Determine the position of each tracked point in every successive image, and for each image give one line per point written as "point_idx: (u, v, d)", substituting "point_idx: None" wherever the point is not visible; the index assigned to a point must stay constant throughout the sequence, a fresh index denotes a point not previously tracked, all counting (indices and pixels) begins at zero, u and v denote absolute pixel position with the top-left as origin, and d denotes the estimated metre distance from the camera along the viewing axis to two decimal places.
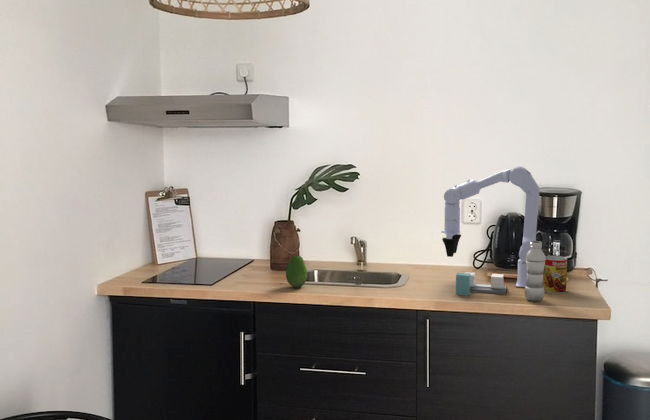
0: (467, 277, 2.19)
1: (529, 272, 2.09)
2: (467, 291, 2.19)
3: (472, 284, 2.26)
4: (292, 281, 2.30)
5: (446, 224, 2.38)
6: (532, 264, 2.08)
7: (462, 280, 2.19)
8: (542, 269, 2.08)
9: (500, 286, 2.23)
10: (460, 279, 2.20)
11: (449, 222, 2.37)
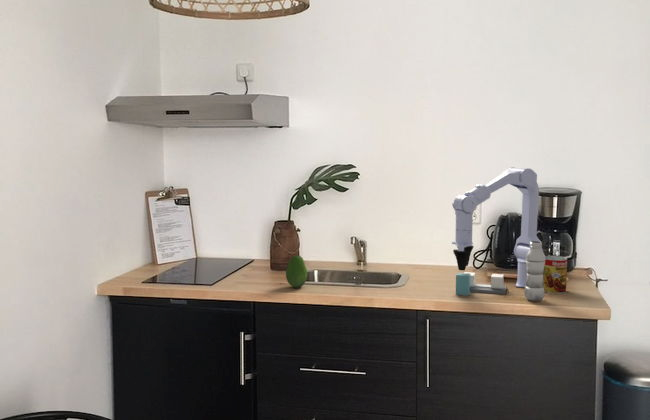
0: (467, 277, 2.19)
1: (529, 272, 2.09)
2: (467, 291, 2.19)
3: (472, 284, 2.26)
4: (292, 281, 2.30)
5: (457, 235, 2.18)
6: (532, 264, 2.08)
7: (462, 280, 2.19)
8: (542, 269, 2.08)
9: (500, 286, 2.23)
10: (460, 279, 2.20)
11: (461, 233, 2.17)
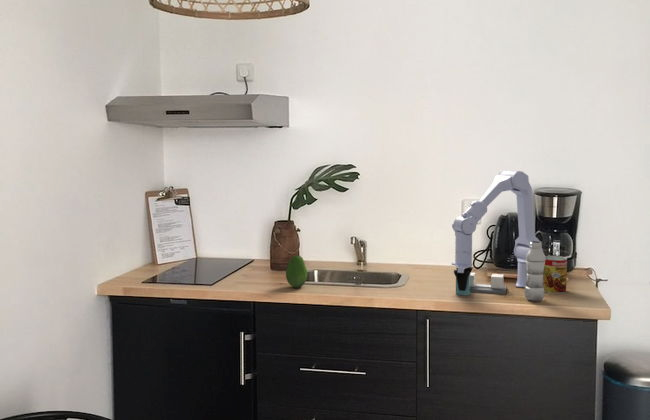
0: None
1: (529, 272, 2.09)
2: (467, 291, 2.19)
3: (472, 284, 2.26)
4: (292, 281, 2.30)
5: (457, 256, 2.19)
6: (532, 264, 2.08)
7: None
8: (542, 269, 2.08)
9: (500, 286, 2.23)
10: None
11: (460, 254, 2.18)
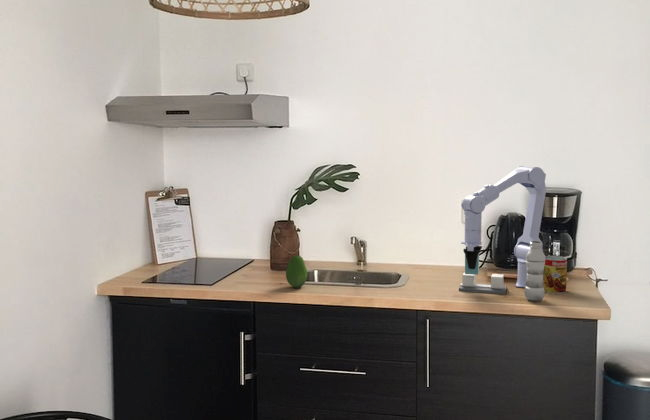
0: None
1: (529, 272, 2.09)
2: (476, 270, 2.21)
3: (472, 284, 2.26)
4: (292, 281, 2.30)
5: (467, 235, 2.20)
6: (532, 264, 2.08)
7: None
8: (542, 269, 2.08)
9: (500, 286, 2.23)
10: None
11: (470, 233, 2.19)
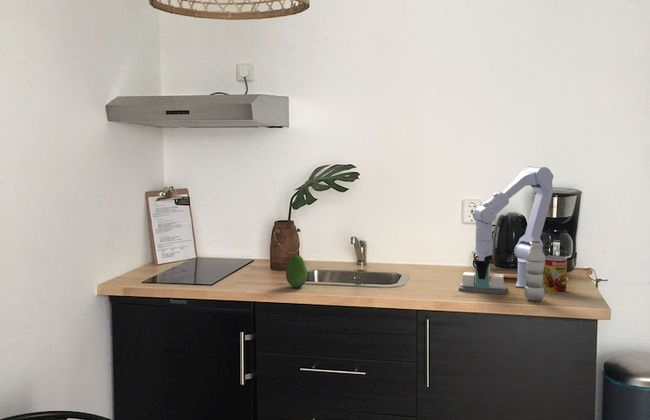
0: (487, 269, 2.24)
1: (529, 272, 2.09)
2: (487, 283, 2.25)
3: (472, 284, 2.26)
4: (292, 281, 2.30)
5: (477, 245, 2.24)
6: (532, 264, 2.08)
7: None
8: (542, 269, 2.08)
9: (500, 286, 2.23)
10: None
11: (481, 242, 2.23)
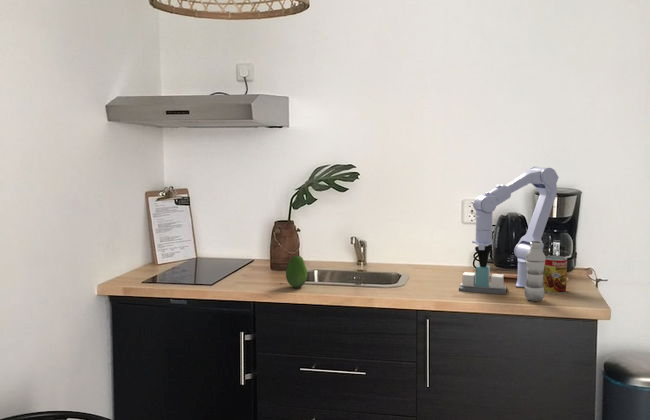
0: (487, 269, 2.24)
1: (529, 272, 2.09)
2: (487, 283, 2.25)
3: (472, 284, 2.26)
4: (292, 281, 2.30)
5: (478, 234, 2.23)
6: (532, 264, 2.08)
7: (481, 272, 2.25)
8: (542, 269, 2.08)
9: (500, 286, 2.23)
10: (480, 271, 2.25)
11: (481, 232, 2.22)
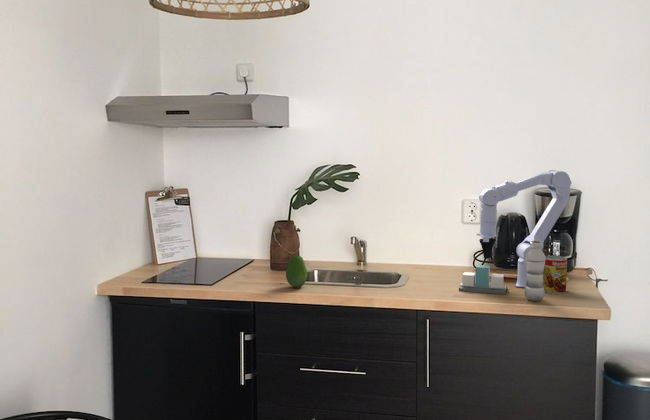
0: (487, 269, 2.24)
1: (529, 272, 2.09)
2: (487, 283, 2.25)
3: (472, 284, 2.26)
4: (292, 281, 2.30)
5: (482, 226, 2.28)
6: (532, 264, 2.08)
7: (481, 272, 2.25)
8: (542, 269, 2.08)
9: (500, 286, 2.23)
10: (480, 271, 2.25)
11: (485, 224, 2.27)
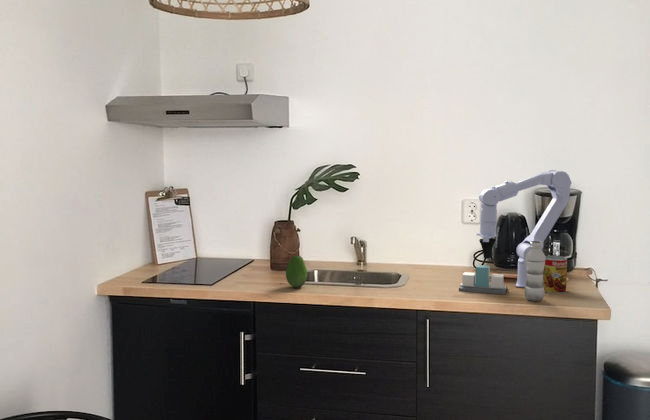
0: (487, 269, 2.24)
1: (529, 272, 2.09)
2: (487, 283, 2.25)
3: (472, 284, 2.26)
4: (292, 281, 2.30)
5: (482, 226, 2.28)
6: (532, 264, 2.08)
7: (481, 272, 2.25)
8: (542, 269, 2.08)
9: (500, 286, 2.23)
10: (480, 271, 2.25)
11: (485, 224, 2.27)
